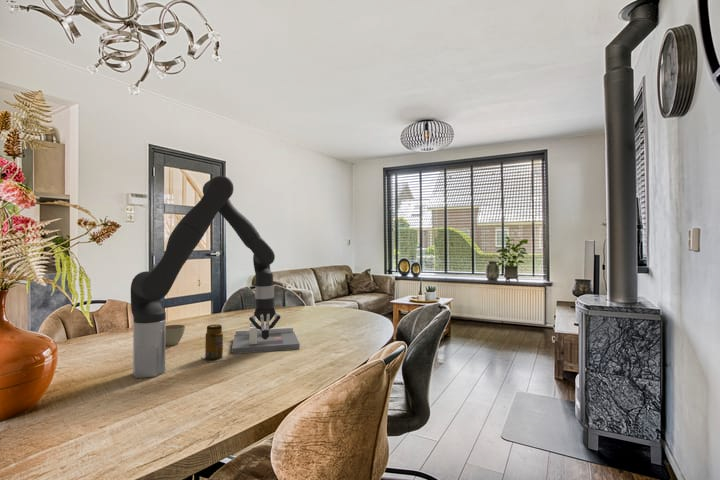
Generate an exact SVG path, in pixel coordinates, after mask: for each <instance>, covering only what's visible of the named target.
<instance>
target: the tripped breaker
mask: <svg viewBox="0 0 720 480" xmlns="http://www.w3.org/2000/svg"><path fill="white" fill-rule="evenodd" d="M248 329H249V345H250V344H257V328H256V327H250V326H249V328H248Z"/></svg>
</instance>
